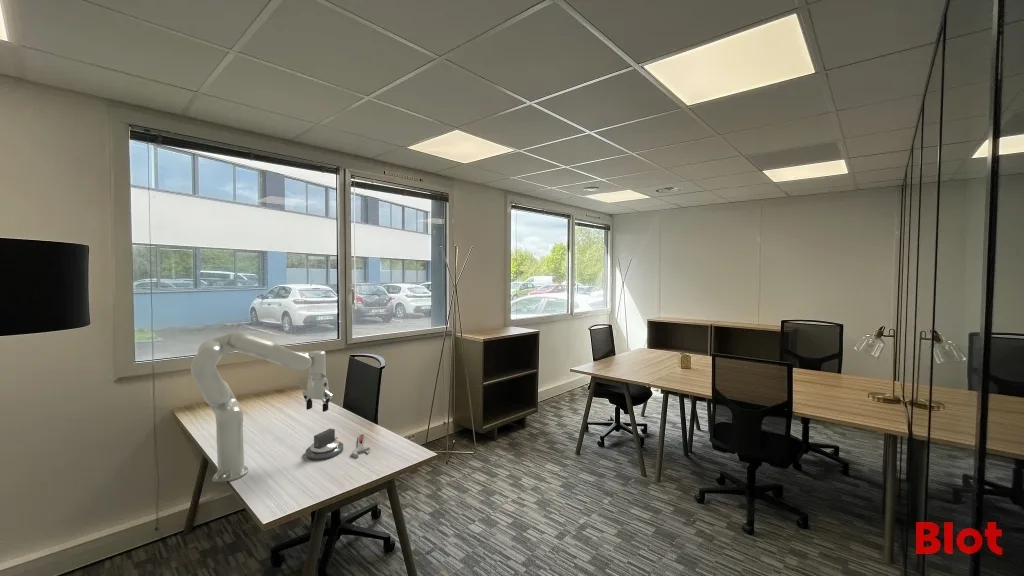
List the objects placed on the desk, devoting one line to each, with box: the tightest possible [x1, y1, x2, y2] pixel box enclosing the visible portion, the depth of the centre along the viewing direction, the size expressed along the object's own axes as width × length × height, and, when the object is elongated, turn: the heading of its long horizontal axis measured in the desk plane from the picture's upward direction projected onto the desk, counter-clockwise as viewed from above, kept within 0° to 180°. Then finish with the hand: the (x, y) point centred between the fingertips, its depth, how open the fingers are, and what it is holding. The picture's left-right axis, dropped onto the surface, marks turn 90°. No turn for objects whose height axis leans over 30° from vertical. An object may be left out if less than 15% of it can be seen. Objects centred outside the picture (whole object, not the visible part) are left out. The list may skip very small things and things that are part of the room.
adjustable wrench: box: [351, 433, 371, 458], centre depth 205 cm, size 8×26×2 cm, turn 13°
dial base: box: [305, 441, 344, 461], centre depth 197 cm, size 17×17×2 cm
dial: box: [309, 428, 340, 453], centre depth 198 cm, size 14×13×8 cm
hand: (317, 409), depth 197 cm, fingers open, 9 cm apart
